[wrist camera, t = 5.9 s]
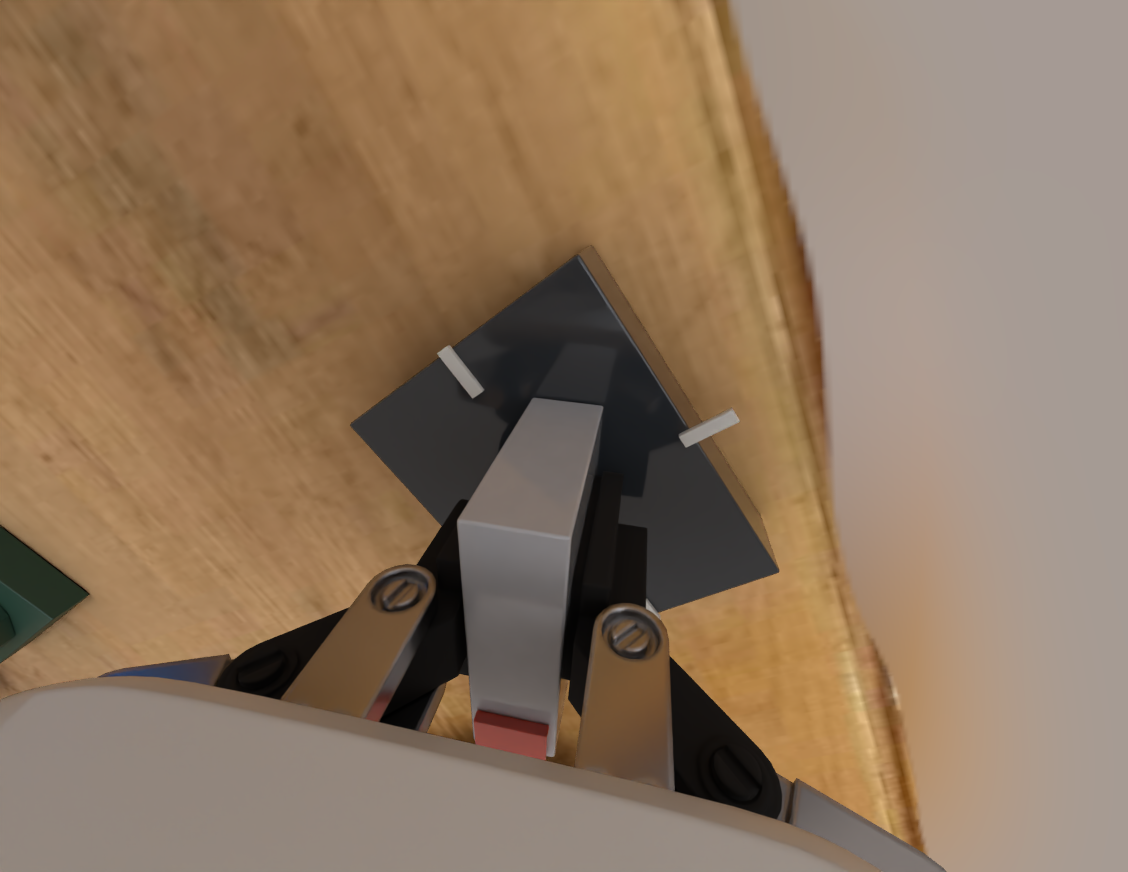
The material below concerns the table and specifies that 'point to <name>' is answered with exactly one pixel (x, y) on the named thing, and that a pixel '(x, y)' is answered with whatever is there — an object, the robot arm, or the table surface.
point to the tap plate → (628, 434)
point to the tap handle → (526, 573)
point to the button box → (29, 595)
